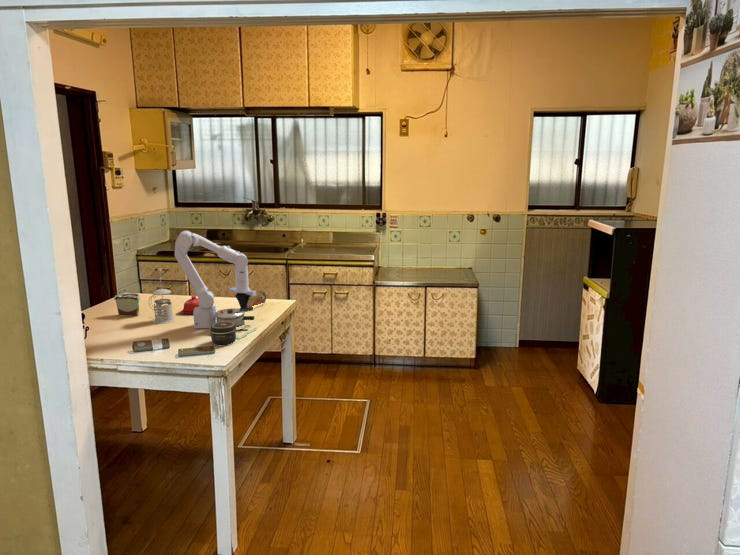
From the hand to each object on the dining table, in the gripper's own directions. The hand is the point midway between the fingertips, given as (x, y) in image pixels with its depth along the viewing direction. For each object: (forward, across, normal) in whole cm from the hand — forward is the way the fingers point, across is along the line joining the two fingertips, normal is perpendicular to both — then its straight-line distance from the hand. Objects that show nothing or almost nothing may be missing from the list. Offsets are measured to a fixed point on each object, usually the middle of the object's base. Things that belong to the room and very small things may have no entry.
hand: (243, 309), depth 235 cm
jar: (+7, -11, +23) cm, 27 cm away
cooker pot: (+7, -2, +7) cm, 10 cm away
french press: (+7, +36, +17) cm, 40 cm away
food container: (+7, +57, +18) cm, 60 cm away
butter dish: (+7, +34, -1) cm, 35 cm away
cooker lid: (0, -1, +6) cm, 6 cm away
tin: (+7, +15, -21) cm, 27 cm away
